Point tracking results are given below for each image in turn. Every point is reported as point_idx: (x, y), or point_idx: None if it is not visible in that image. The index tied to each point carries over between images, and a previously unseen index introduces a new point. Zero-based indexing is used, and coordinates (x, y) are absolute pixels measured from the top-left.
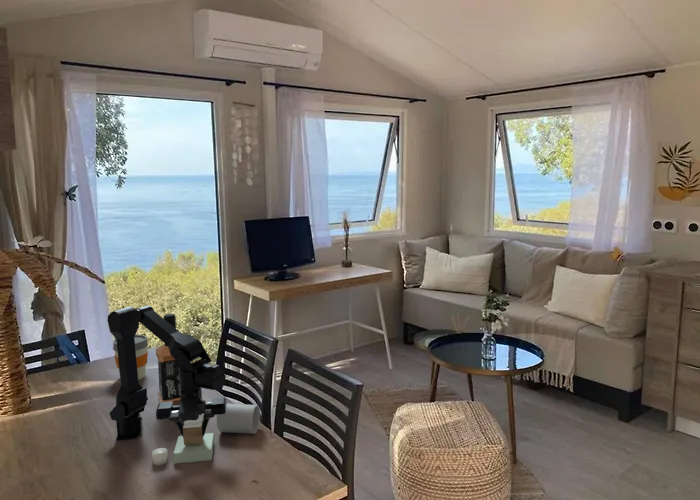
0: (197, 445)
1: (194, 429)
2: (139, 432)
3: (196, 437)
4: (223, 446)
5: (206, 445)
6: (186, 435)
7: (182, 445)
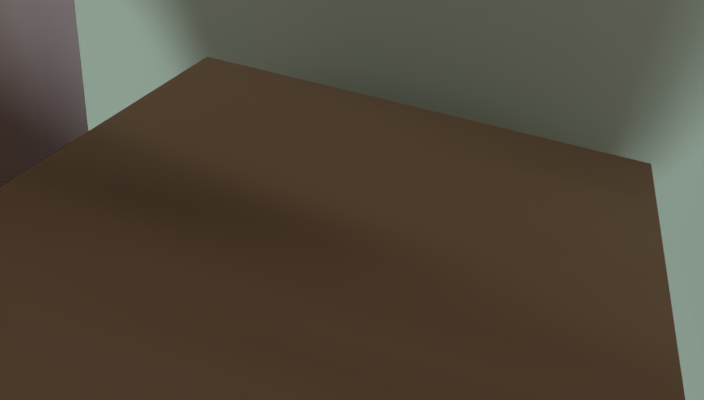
0: None
1: (140, 355)
2: None
3: (256, 159)
4: None
5: (169, 37)
6: (549, 304)
7: None
